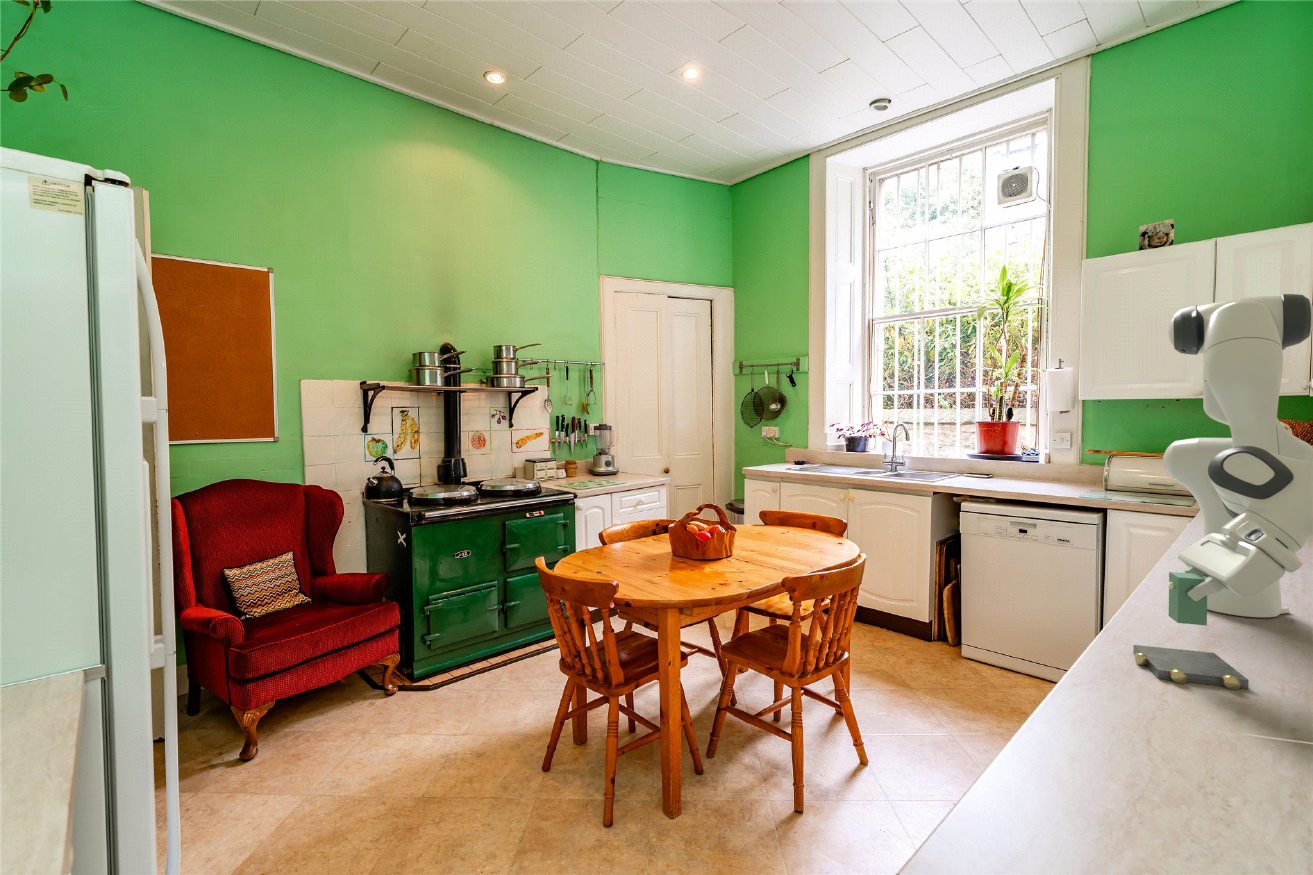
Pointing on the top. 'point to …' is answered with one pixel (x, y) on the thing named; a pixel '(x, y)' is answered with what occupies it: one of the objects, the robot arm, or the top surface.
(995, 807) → the top surface
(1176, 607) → the block
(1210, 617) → the top surface
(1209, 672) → the level base plate
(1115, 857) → the top surface
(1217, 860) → the top surface
